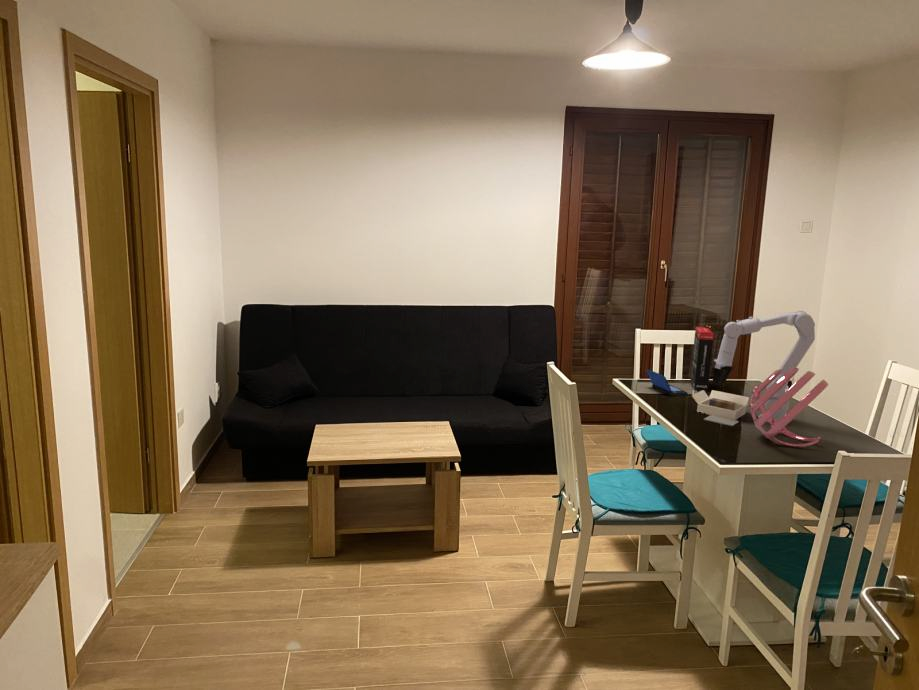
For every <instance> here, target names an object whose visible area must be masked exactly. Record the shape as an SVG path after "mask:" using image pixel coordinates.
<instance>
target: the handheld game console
mask: <svg viewBox="0 0 919 690" xmlns="http://www.w3.org/2000/svg"><path fill="white" fill-rule="evenodd" d="M646 373H647V375H648V377H649V379H650V382H651V384H652V385H651V387H652V388H653V387H654V388H653V389H655V388H656V389H655V390H657V389H658V391H660V390H661V391H660V392H662V391H663V392H662V393H664V394H666V395H668V396H687V395H688V394H689V393H688V392H687V391H686V390H683V389H680V388H679V387H676V386H674V385H672V384H669V382H668V380H667V378H666V376H665V375H663V374H661V373H659V372H656V371H653V370H650V368H649V369H648V368H647V369H646Z"/></svg>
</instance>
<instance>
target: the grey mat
mask: <svg viewBox="0 0 919 690" xmlns="http://www.w3.org/2000/svg"><path fill="white" fill-rule="evenodd" d="M703 421H706V422H712V423H716V424H721V425H725V426H730V427H734V426H735V425H736V424H738V423H739V422H740V421H739V420H737V419H736V420H731V419H727V418H722V417H718V416H713V415H708V416H707V417H705V418H703Z"/></svg>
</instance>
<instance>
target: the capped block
mask: <svg viewBox="0 0 919 690" xmlns="http://www.w3.org/2000/svg"><path fill="white" fill-rule="evenodd" d="M709 406H713V407H718V408H723V409H727V410H732V411H734V410H735V402H730V401H725V400H721V399H716V398H712V399H710V402H709Z"/></svg>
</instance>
